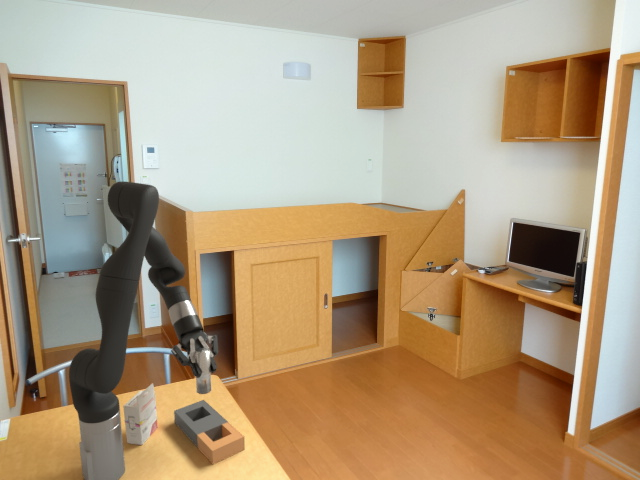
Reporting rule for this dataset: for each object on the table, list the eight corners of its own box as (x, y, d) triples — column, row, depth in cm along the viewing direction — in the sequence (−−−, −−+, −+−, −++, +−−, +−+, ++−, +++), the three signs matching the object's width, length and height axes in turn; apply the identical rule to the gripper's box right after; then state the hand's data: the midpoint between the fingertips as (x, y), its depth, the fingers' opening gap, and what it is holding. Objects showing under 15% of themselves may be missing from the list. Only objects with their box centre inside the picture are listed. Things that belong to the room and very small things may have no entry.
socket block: (213, 464, 124) (212, 450, 123) (174, 422, 141) (174, 410, 141) (244, 449, 130) (244, 436, 129) (204, 411, 147) (203, 399, 147)
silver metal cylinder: (200, 395, 130) (199, 355, 128) (194, 389, 133) (192, 350, 131) (213, 390, 133) (212, 351, 131) (206, 385, 136) (205, 346, 134)
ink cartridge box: (142, 425, 140) (139, 380, 137) (158, 427, 139) (155, 382, 136) (125, 443, 132) (121, 395, 129) (141, 446, 131) (138, 397, 128)
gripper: (165, 319, 130) (186, 376, 123) (211, 308, 139) (234, 361, 133) (158, 331, 135) (178, 387, 128) (203, 320, 144) (224, 371, 138)
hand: (206, 373), depth 131 cm, fingers closed on silver metal cylinder, 4 cm apart
